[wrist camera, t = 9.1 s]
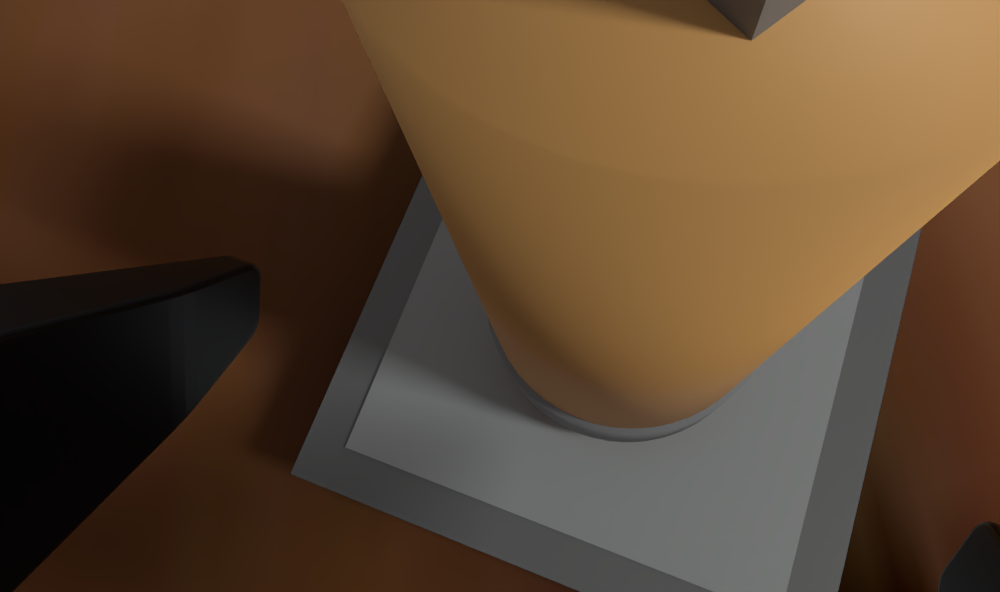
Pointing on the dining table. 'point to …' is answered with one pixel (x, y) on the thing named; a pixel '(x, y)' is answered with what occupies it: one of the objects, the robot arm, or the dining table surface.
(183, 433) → the dining table surface
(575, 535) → the stand
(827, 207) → the housing
